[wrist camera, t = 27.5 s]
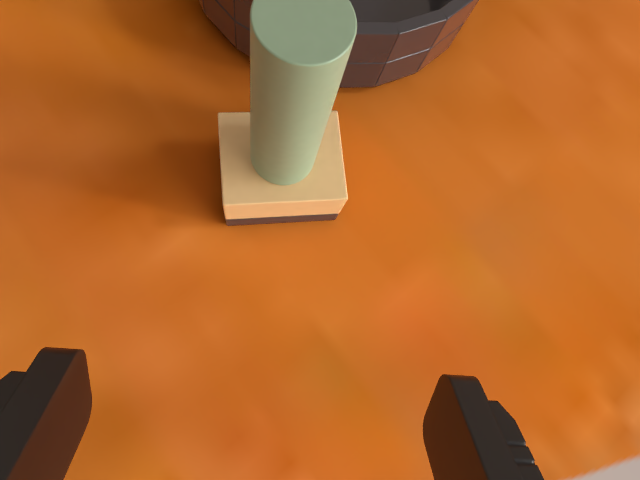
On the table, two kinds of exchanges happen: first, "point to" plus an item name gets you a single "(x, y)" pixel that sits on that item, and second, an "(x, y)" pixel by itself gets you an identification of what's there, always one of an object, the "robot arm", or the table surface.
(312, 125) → the green peg on base
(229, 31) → the pan
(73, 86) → the table surface
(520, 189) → the table surface
